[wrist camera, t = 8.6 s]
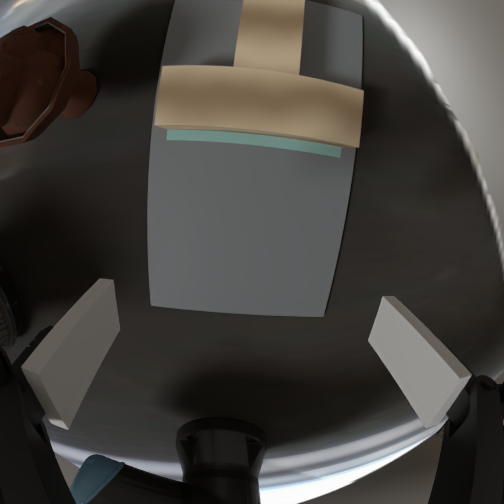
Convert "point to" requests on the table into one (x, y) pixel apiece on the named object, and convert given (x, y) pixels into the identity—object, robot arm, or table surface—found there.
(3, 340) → the beer stein
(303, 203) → the push board
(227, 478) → the robot arm
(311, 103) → the t block
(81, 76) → the ice cream bowl
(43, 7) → the table surface
